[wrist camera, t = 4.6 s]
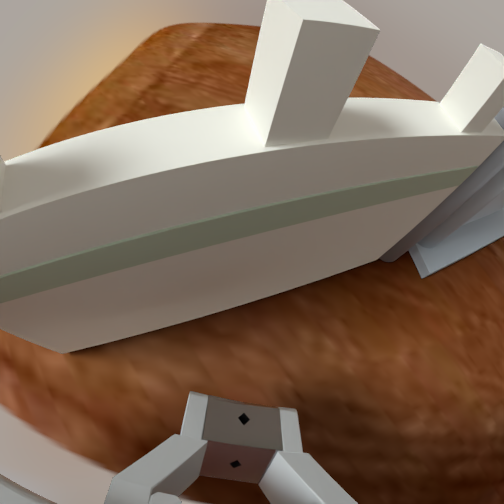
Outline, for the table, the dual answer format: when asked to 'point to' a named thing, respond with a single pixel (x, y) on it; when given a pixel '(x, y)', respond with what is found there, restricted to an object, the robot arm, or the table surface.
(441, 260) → the grey toy wall
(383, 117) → the fence panel
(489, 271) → the table surface
